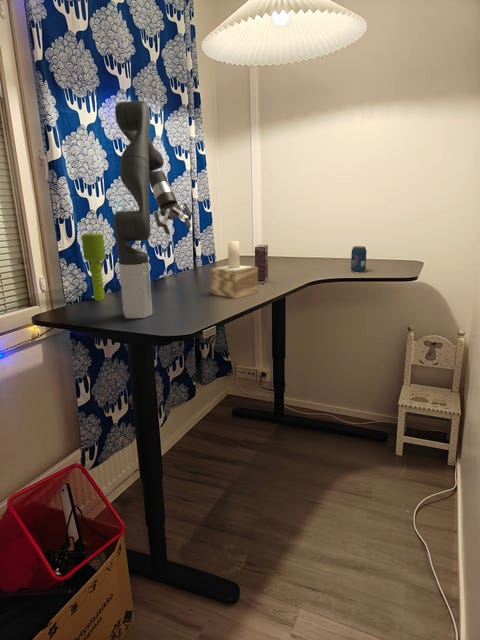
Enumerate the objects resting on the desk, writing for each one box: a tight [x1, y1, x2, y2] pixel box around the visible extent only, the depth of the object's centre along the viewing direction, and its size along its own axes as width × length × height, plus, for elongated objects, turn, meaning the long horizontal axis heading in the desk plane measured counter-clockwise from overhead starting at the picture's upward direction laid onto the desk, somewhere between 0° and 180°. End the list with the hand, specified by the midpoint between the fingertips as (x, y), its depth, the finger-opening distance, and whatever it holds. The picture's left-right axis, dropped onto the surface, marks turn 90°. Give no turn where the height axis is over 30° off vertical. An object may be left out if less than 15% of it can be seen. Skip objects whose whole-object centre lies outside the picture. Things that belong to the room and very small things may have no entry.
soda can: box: [350, 245, 367, 273], centre depth 215 cm, size 7×7×12 cm
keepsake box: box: [210, 265, 259, 299], centre depth 175 cm, size 13×13×10 cm
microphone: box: [81, 232, 106, 301], centre depth 169 cm, size 8×8×25 cm
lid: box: [215, 240, 253, 271], centre depth 173 cm, size 10×10×11 cm
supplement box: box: [254, 244, 269, 284], centre depth 196 cm, size 9×5×16 cm, turn 168°
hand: (179, 231), depth 177 cm, fingers open, 8 cm apart
